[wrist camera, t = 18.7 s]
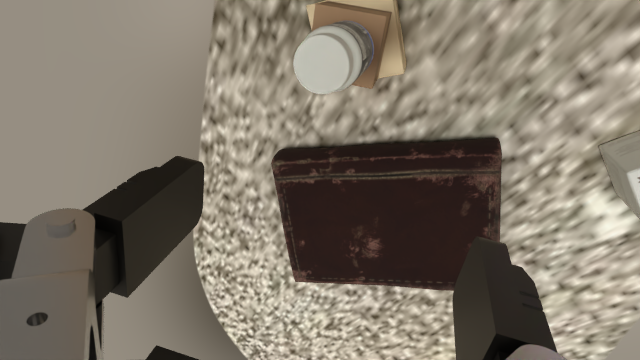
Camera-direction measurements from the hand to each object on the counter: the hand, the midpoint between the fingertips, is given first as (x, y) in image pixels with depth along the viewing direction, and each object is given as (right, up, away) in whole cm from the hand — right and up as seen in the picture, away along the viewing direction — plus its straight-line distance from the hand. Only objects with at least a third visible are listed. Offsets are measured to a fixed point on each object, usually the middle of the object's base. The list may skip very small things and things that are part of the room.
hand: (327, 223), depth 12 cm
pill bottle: (+2, +12, +24) cm, 27 cm away
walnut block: (+3, +15, +28) cm, 32 cm away
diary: (+8, -2, +41) cm, 42 cm away
